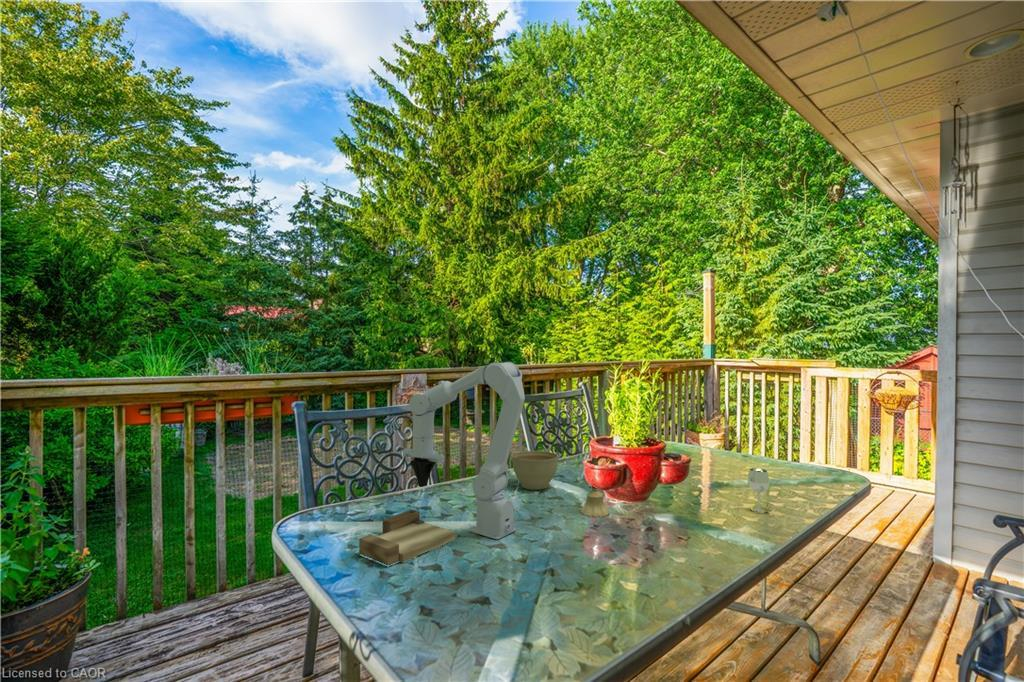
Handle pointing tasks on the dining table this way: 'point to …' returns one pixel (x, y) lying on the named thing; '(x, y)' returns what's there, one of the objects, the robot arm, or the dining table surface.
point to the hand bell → (594, 501)
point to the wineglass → (758, 483)
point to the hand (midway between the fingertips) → (422, 485)
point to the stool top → (405, 542)
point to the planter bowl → (534, 468)
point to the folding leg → (400, 520)
